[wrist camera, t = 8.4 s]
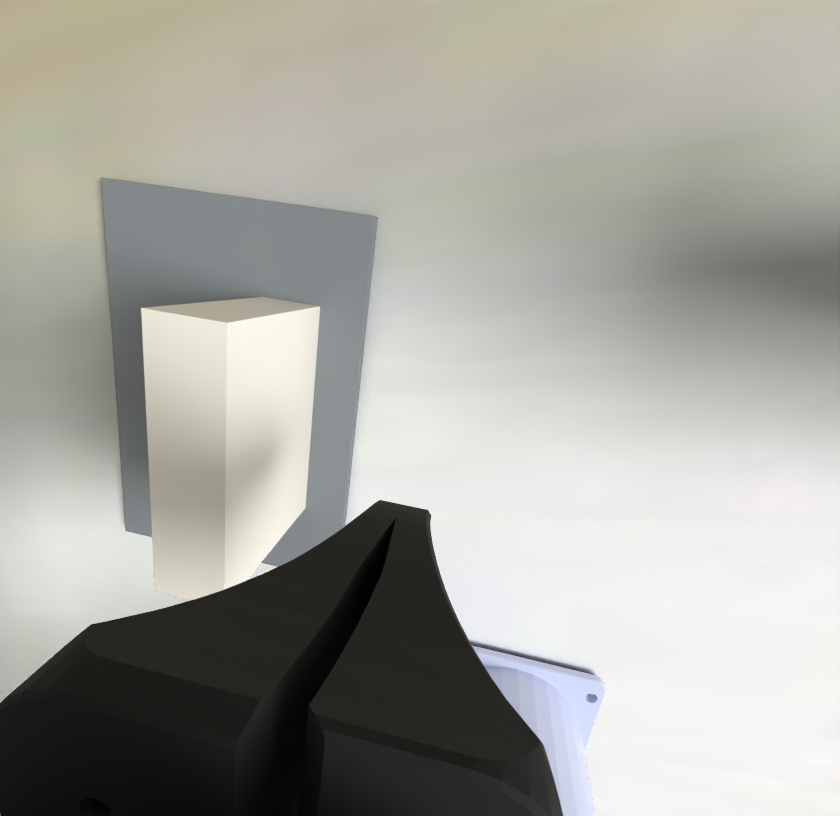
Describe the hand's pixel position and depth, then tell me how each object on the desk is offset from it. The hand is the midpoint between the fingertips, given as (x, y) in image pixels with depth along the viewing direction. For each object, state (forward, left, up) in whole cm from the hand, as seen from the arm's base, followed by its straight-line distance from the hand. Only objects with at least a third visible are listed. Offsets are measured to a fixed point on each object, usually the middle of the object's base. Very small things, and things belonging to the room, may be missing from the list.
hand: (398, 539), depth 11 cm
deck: (0, +6, -8) cm, 10 cm away
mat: (0, +9, -8) cm, 12 cm away
